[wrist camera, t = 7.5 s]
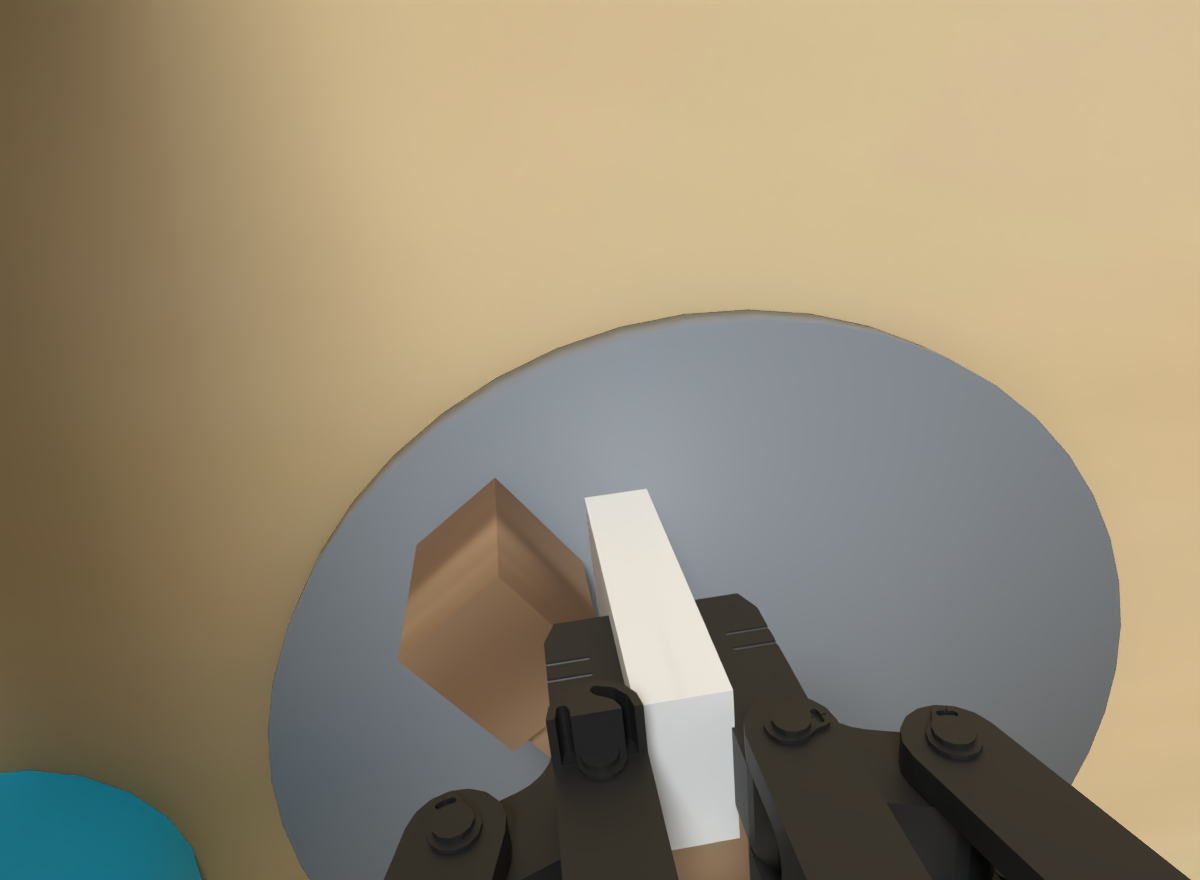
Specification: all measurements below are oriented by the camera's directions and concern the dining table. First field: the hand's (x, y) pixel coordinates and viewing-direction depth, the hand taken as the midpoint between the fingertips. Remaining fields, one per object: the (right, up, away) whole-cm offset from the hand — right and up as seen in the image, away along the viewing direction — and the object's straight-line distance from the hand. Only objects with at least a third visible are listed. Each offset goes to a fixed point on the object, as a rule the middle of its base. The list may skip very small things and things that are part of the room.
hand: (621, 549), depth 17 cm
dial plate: (+3, -6, +6) cm, 9 cm away
